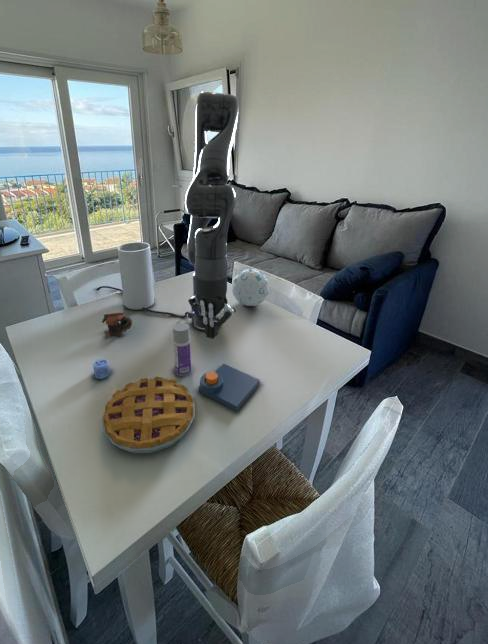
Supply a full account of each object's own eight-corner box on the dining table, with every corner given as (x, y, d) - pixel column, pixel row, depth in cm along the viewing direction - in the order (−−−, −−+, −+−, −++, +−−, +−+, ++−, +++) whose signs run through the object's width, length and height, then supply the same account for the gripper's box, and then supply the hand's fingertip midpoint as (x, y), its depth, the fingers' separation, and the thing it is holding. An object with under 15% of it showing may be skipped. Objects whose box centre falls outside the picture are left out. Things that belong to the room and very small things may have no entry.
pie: (203, 450, 69) (203, 433, 67) (98, 470, 65) (95, 453, 63) (188, 382, 89) (187, 367, 87) (107, 394, 85) (104, 379, 83)
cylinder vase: (126, 297, 139) (119, 242, 130) (155, 296, 140) (150, 241, 131) (122, 311, 128) (115, 252, 118) (153, 309, 129) (148, 250, 119)
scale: (195, 391, 86) (195, 381, 84) (221, 367, 95) (222, 357, 94) (235, 413, 79) (235, 402, 77) (259, 384, 88) (260, 374, 87)
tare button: (203, 381, 85) (203, 376, 84) (210, 375, 87) (210, 370, 86) (213, 386, 83) (213, 381, 82) (219, 379, 85) (219, 374, 85)
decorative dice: (94, 371, 94) (93, 360, 92) (109, 368, 95) (107, 357, 93) (95, 380, 90) (93, 369, 89) (110, 377, 91) (108, 365, 90)
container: (193, 367, 95) (191, 324, 89) (187, 377, 91) (185, 332, 85) (179, 364, 96) (176, 321, 91) (172, 374, 92) (169, 329, 87)
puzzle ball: (252, 293, 142) (254, 261, 137) (275, 306, 130) (278, 272, 125) (224, 301, 135) (224, 268, 130) (245, 316, 123) (247, 280, 118)
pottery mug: (97, 338, 110) (95, 315, 112) (113, 336, 119) (112, 314, 120) (126, 335, 107) (124, 311, 108) (141, 333, 115) (139, 310, 117)
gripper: (244, 274, 73) (241, 338, 79) (198, 262, 80) (199, 322, 86) (226, 285, 67) (225, 353, 73) (178, 271, 74) (181, 335, 81)
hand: (211, 336), depth 80 cm, fingers closed
